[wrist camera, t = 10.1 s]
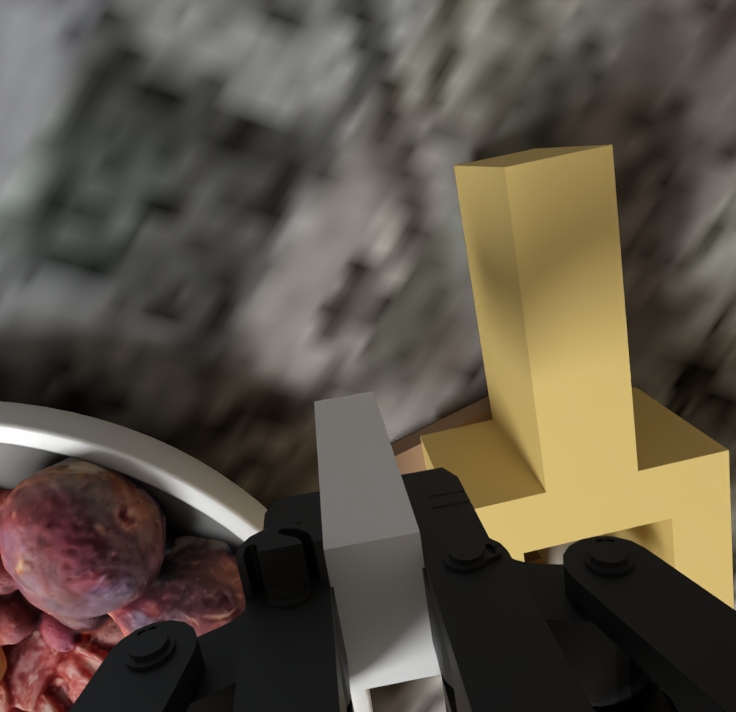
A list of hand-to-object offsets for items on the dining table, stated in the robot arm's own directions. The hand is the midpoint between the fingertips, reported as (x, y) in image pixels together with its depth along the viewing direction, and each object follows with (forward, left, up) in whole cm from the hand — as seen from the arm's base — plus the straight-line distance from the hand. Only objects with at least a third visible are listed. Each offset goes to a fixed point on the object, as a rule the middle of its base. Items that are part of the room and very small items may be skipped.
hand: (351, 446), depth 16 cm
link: (-6, +5, -9) cm, 12 cm away
